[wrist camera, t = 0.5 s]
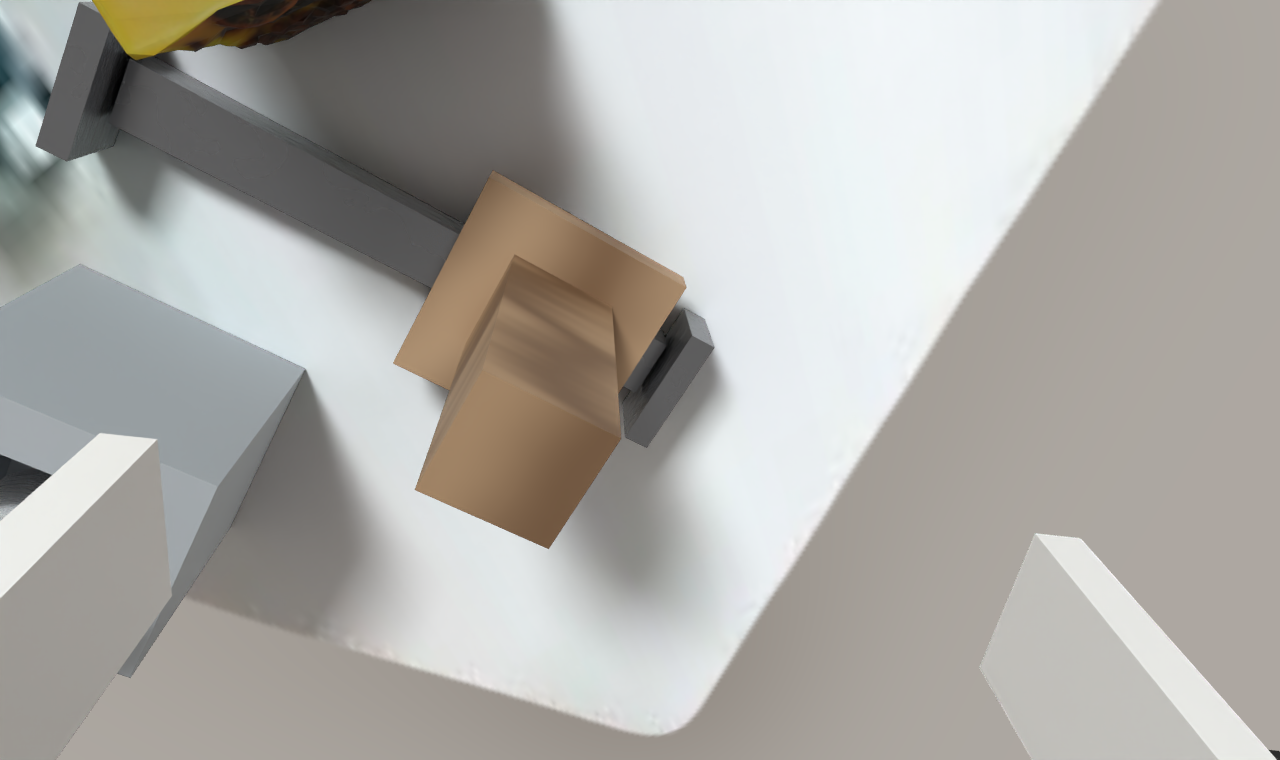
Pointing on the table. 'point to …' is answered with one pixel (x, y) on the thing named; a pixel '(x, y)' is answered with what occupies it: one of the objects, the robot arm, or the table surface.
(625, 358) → the carriage
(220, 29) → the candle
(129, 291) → the housing
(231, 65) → the table surface
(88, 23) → the rail
